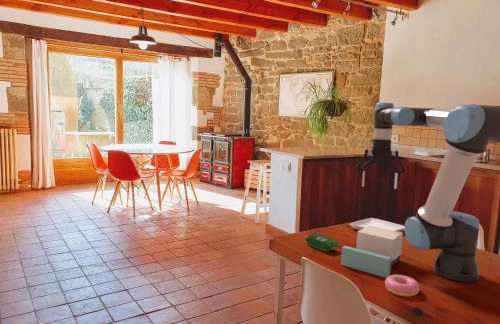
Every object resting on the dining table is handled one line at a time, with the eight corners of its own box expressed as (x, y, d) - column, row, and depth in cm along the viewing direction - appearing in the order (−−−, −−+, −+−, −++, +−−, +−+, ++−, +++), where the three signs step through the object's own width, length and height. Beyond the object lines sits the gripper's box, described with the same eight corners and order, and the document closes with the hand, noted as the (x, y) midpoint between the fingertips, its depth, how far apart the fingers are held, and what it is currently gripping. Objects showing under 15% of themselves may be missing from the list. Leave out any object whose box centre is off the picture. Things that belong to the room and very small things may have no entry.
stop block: (389, 276, 141) (391, 257, 140) (387, 278, 139) (389, 259, 138) (343, 262, 152) (344, 245, 151) (340, 264, 150) (342, 247, 149)
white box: (400, 254, 157) (402, 232, 156) (391, 262, 148) (393, 239, 147) (367, 245, 166) (368, 225, 164) (355, 253, 156) (357, 231, 155)
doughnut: (407, 301, 122) (408, 289, 122) (377, 288, 131) (378, 276, 131) (425, 293, 129) (427, 281, 128) (396, 281, 138) (397, 269, 137)
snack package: (328, 255, 160) (329, 243, 160) (303, 244, 173) (304, 232, 172) (340, 252, 164) (341, 240, 164) (315, 241, 177) (315, 230, 176)
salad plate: (369, 222, 212) (370, 216, 212) (407, 232, 197) (408, 226, 196) (347, 229, 198) (348, 223, 198) (386, 240, 183) (387, 233, 182)
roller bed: (400, 260, 157) (400, 254, 157) (385, 273, 144) (386, 267, 143) (366, 251, 166) (366, 246, 165) (349, 263, 152) (350, 257, 152)
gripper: (412, 139, 169) (408, 187, 171) (352, 137, 176) (350, 183, 178) (414, 140, 161) (410, 190, 164) (352, 137, 168) (349, 186, 171)
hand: (379, 187), depth 171 cm, fingers open, 13 cm apart
